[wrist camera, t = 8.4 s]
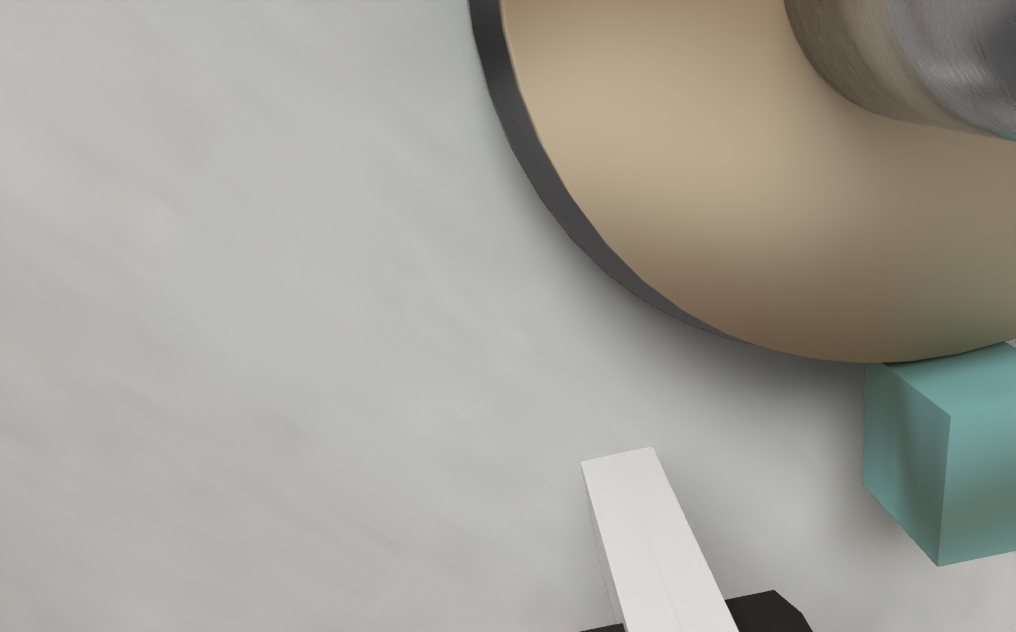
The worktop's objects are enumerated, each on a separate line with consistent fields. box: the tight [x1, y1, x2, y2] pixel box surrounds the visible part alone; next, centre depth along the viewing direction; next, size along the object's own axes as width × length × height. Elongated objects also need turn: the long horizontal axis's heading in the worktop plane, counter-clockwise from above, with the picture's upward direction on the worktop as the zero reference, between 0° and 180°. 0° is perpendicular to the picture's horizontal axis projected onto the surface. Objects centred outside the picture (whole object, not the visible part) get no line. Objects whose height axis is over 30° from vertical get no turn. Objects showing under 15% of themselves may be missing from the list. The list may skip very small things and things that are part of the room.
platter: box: [498, 0, 1016, 567], centre depth 10 cm, size 19×15×3 cm
